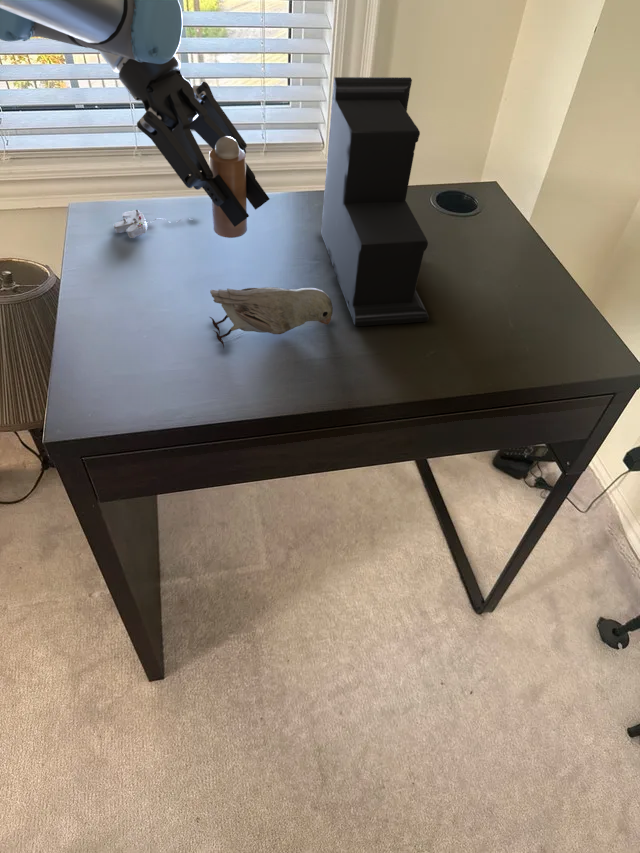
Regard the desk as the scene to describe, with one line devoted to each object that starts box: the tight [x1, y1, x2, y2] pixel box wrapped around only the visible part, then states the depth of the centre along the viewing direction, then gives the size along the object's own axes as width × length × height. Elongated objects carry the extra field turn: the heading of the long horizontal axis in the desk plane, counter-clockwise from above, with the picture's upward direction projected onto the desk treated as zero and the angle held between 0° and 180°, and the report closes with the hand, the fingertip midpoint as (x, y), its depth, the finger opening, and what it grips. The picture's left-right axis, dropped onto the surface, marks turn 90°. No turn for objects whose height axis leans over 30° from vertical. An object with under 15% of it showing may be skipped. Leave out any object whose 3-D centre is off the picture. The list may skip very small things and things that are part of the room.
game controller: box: [112, 209, 193, 239], centre depth 99 cm, size 6×12×3 cm, turn 129°
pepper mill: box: [208, 136, 248, 239], centre depth 88 cm, size 5×5×13 cm
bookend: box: [320, 76, 430, 327], centre depth 86 cm, size 23×11×24 cm, turn 11°
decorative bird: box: [209, 286, 334, 350], centre depth 82 cm, size 5×16×8 cm, turn 107°
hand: (252, 212), depth 89 cm, fingers closed on pepper mill, 5 cm apart
